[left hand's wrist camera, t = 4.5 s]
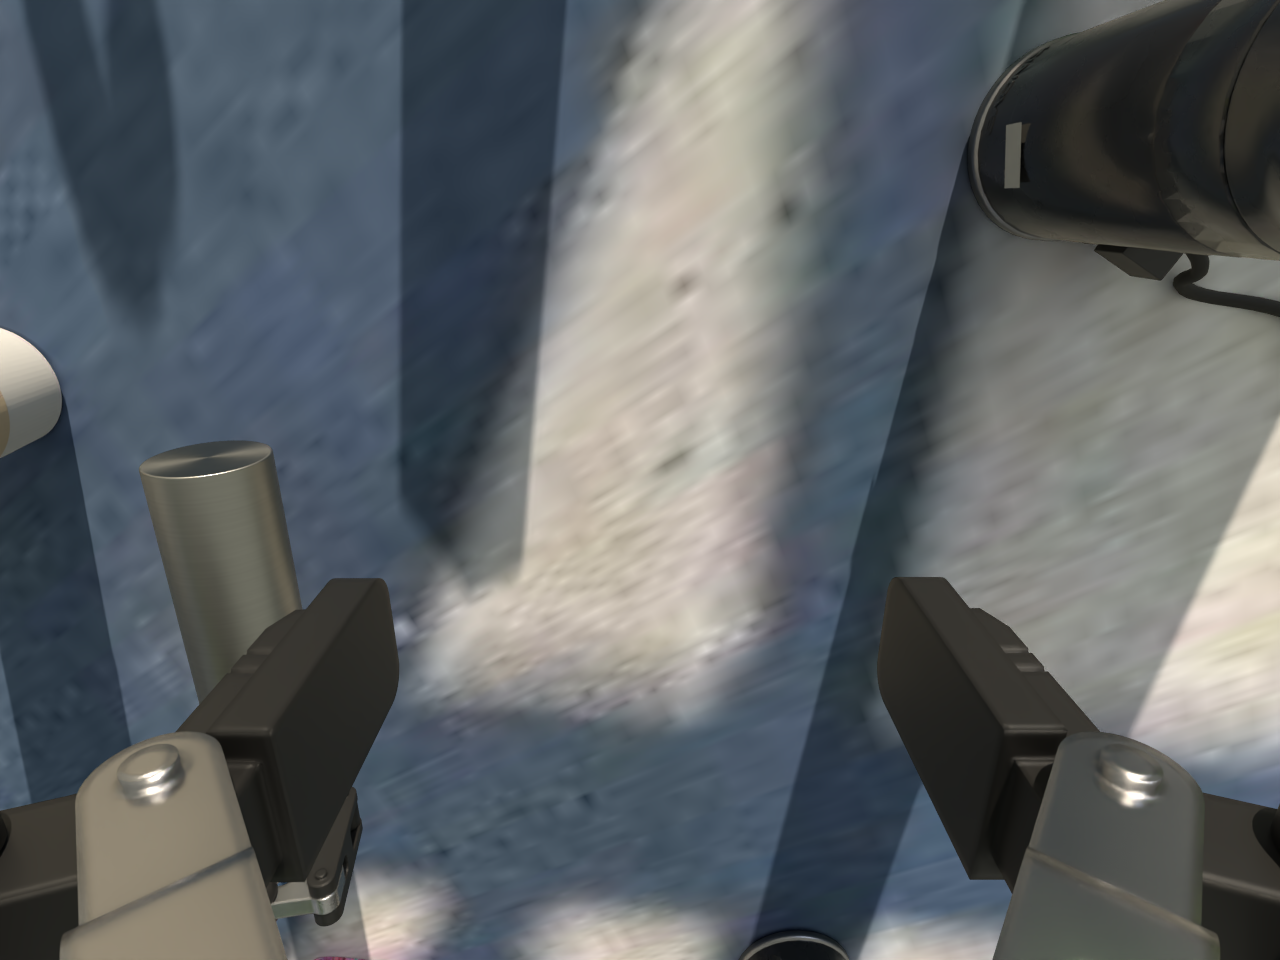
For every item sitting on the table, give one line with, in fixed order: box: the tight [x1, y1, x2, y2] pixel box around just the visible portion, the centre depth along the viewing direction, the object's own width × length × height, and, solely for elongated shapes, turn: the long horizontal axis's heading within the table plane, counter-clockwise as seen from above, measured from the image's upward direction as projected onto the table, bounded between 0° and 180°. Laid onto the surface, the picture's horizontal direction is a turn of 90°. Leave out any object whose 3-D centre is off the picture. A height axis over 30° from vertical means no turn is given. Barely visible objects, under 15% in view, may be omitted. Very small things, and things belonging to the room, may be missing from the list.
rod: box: [139, 441, 302, 704], centre depth 37 cm, size 22×5×5 cm, turn 0°
